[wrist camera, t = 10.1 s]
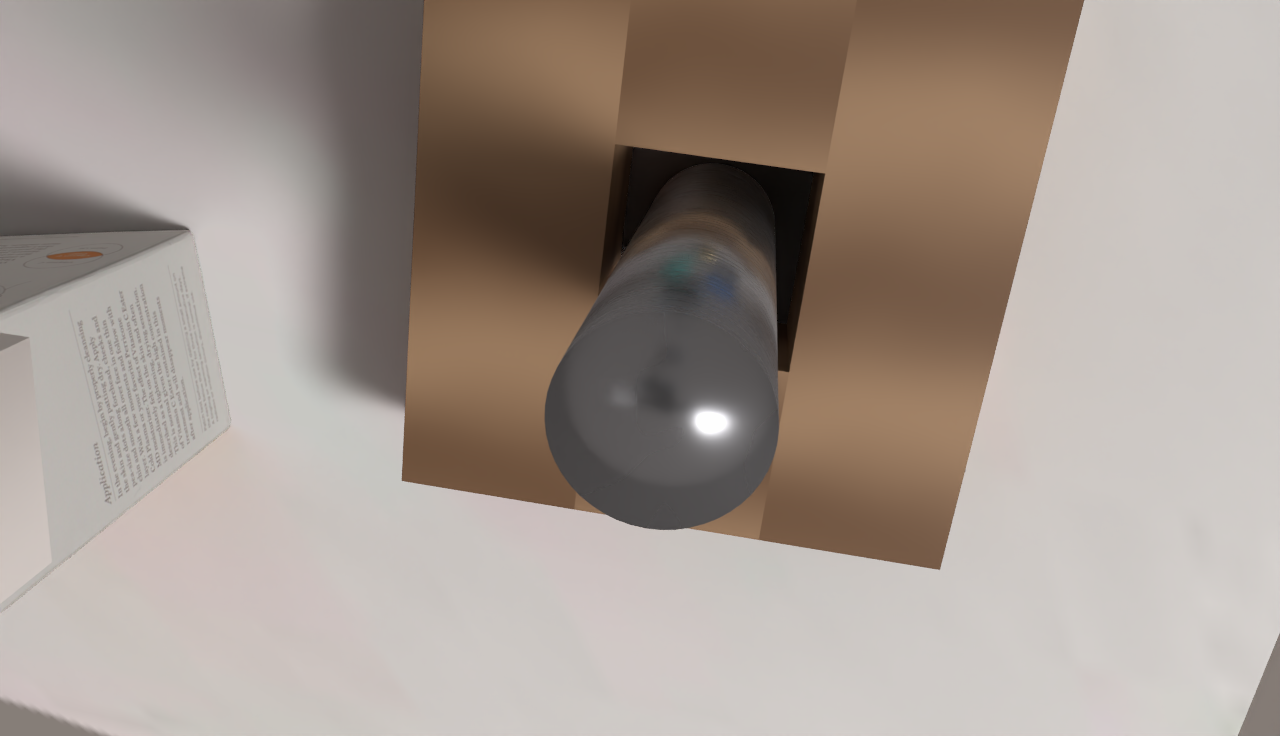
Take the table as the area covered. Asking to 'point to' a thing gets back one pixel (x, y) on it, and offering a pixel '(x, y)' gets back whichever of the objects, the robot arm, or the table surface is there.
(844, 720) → the table surface
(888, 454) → the hole block
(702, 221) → the long pin
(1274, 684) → the robot arm
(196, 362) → the small box
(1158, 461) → the table surface
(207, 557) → the table surface
